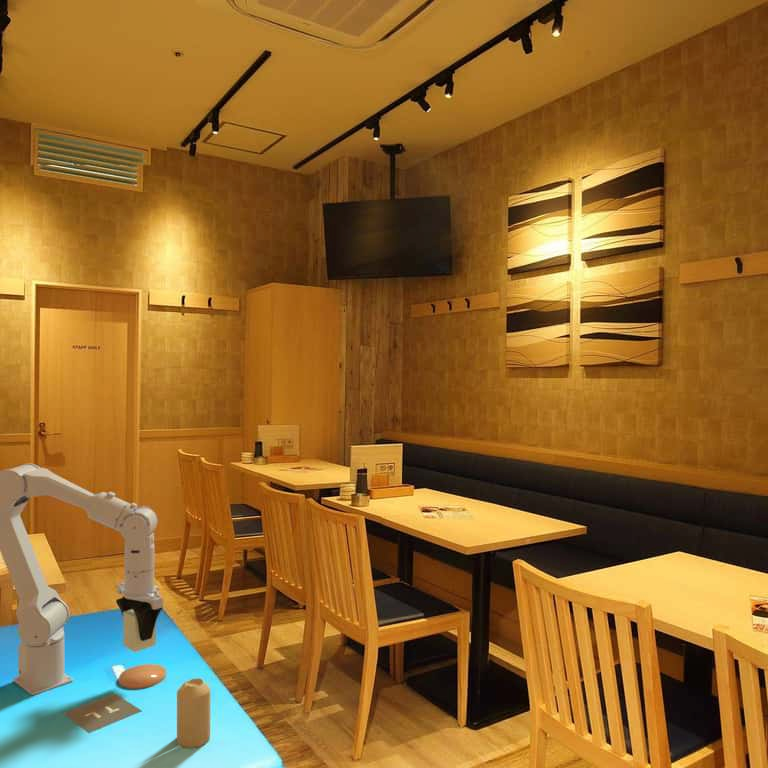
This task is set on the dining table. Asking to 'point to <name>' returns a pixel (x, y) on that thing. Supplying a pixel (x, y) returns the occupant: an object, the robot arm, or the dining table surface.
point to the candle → (193, 714)
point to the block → (135, 633)
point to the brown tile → (102, 712)
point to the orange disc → (142, 676)
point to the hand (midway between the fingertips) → (139, 635)
